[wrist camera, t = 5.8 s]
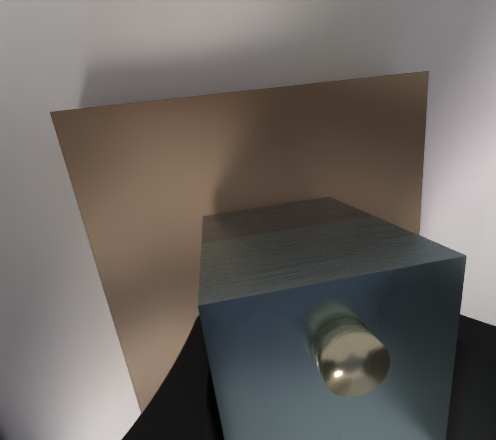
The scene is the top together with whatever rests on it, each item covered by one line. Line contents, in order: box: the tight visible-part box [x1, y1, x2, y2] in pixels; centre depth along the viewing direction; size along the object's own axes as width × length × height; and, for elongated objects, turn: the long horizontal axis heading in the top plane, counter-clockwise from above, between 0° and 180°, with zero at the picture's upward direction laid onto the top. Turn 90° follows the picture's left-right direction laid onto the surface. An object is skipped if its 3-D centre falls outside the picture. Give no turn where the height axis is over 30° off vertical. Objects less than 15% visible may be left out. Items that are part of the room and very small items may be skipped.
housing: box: [198, 197, 466, 440], centre depth 9 cm, size 5×8×7 cm, turn 7°
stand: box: [50, 71, 429, 414], centre depth 13 cm, size 16×14×2 cm
